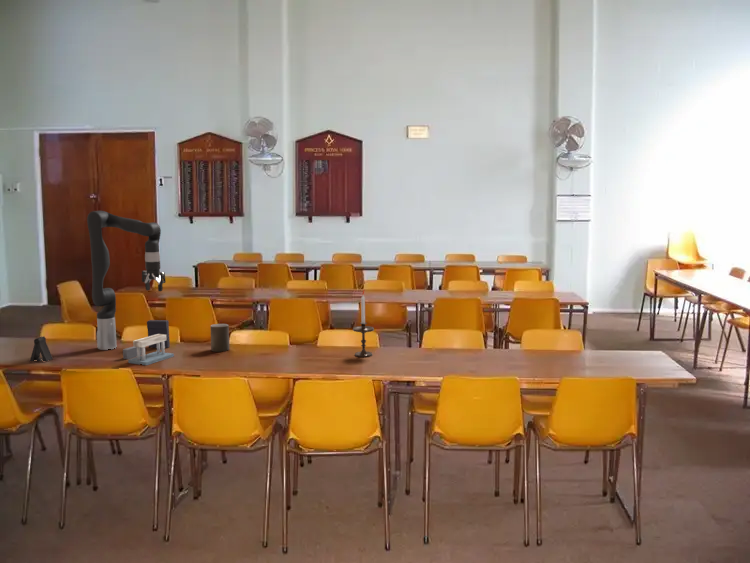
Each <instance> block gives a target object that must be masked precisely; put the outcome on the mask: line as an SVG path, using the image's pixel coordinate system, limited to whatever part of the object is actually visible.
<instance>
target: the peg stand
mask: <svg viewBox="0 0 750 563" xmlns="http://www.w3.org/2000/svg"><path fill="white" fill-rule="evenodd" d="M165 349H166V348H165V346H164V341H163V342H161V348H160V342H159V343H157V348H156V351H153V352H150V353H147V354H146V347H142V348H141V351H142V355H140V347H137V357H134V358H131V359H127V361H128V362H127V363H129V364H133V365H140V364H142V365H141V366H149V365H152V364H155V363H157V362H161V361H164V360H168V359H171V358H173V357H175V353H173V352H172V353H171V352H166V350H165Z"/></svg>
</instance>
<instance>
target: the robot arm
mask: <svg viewBox="0 0 750 563" xmlns="http://www.w3.org/2000/svg"><path fill="white" fill-rule="evenodd" d="M86 222H87V228H88V229H87V230H88V234H89V243H90V245H89V246H90V258H91V261H90V262H91V271H92V272H91V273H92V274H91V277H92V284H91V285H92V289H91V299H92V302H93V304H94V306H96V307H102V308H101V309H100V310H99V311H97V313H96V321H97V323H96V324H97V331H96V346H97V349H98V350H101V351H109V350H108V349H111V350H114V348H115V349H117V348H118V347H117V332H116V330H117V329H116V311H117V305H116V304H117V302H116V301H117V299H116V298H117V297H116V293H115V290H114V289H113V288H111V287H105V288H104V280H105V277H106V275H107V272H108V270H109V268H110V266H111V263H110V262H111V261H110V251H109V249H108V247H107V245H106V243H105V241H104V239H103V238H104V237H103V232H102V231H103V228H104V229H105V228H116V229H120V230H122V231H125V232H128V233H132V234H138V235H140V236H143V237H148V239H147V240H146V241H145V244H144V250H145V251H144V253H145V254H144V261H145V270H141V282H142V283H144V284H145V291H150V290H151V283H150V282H151V281H152V280H153V281H155V282H156V283H157V284H158V285H157V288H158V292H162V291H163V288H164V287H163V284H166V272H165V271H160V269H161V254H160V246H159V245H160V244H159V243H160V241H161V240H160V239H161V233H162V232H161V231H162V230H161V226H160V225H159V223H157V222H143V221H141V220H139V219H133V218H129V217H123V216H119V215H114V214H113V213H110V212H107V211H104V210H93V211H90V212H89V213H88V214H87V218H86ZM116 347H117V348H116Z"/></svg>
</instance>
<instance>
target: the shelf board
mask: <svg viewBox="0 0 750 563" xmlns="http://www.w3.org/2000/svg"><path fill="white" fill-rule="evenodd" d="M166 340H167V337H166V335H164V334H156V335H152V336H149V337H148V336H145V337H143V338H142V337H141V338H139V339H135V340H132V344H133V346H132V347H141V349H142V347H145V348H146V347H149V345H152V344H156V343H159V342H163V341H166Z"/></svg>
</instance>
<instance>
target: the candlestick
mask: <svg viewBox="0 0 750 563" xmlns="http://www.w3.org/2000/svg"><path fill="white" fill-rule="evenodd" d="M364 293H365V290H363V291H362V293H361V295H362V296H361V298H360V300H361V301H360V303H361V304H360V305H361V310H360V311H361V317H360V318H361V322H359V324H360V325H359V326H353V328H352V331H353V332H357V333H361V337H362V338H361V340H360V343H361V345H360V346H361V348H362V349H361V351H357V352H355V353H354V357H357V358H369V357H372V356H373V353H372V352H371V351H366V347H367V345H366V343H367V340H366V335H365V334H366V333H369V332H374V331H375V328H374V326H369V325H367V324H368V322H366V297H365V294H364Z"/></svg>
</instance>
